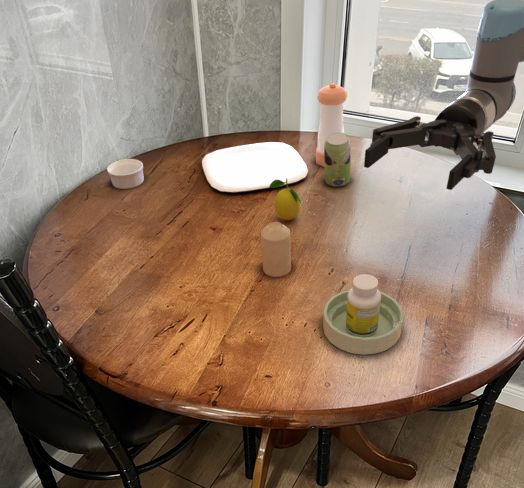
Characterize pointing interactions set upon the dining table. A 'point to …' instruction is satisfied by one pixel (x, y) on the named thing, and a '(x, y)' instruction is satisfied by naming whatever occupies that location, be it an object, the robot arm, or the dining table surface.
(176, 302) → the dining table surface
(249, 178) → the plate
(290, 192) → the lemon
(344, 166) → the beverage can
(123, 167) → the ramekin
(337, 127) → the pepper shaker
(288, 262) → the candle
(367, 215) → the dining table surface
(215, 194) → the dining table surface
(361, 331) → the supplement bottle
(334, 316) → the bowl
